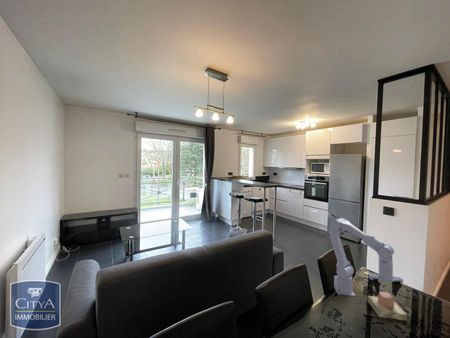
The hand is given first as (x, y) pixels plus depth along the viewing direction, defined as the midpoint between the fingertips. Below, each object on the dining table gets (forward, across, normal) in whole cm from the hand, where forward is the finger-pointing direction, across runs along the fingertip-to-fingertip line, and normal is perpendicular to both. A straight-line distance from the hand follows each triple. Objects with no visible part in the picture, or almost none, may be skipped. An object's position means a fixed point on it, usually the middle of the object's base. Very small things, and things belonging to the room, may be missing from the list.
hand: (385, 294), depth 103 cm
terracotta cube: (+5, 0, 0) cm, 5 cm away
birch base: (+8, 0, 0) cm, 8 cm away
